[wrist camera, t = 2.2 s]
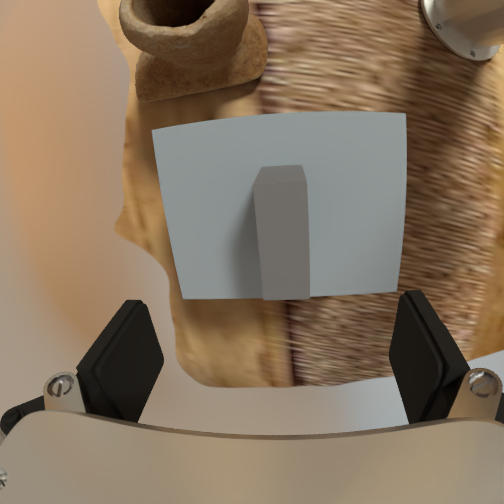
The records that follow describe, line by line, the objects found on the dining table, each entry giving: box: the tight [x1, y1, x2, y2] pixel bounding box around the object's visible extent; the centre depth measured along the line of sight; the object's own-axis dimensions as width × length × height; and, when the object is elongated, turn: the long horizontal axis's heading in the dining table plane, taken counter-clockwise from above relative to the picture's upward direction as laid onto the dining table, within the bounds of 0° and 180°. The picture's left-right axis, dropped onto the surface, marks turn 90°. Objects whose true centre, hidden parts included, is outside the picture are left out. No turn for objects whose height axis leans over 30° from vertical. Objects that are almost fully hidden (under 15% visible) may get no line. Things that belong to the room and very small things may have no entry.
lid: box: [152, 111, 407, 300], centre depth 20 cm, size 14×18×7 cm
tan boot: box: [119, 0, 268, 103], centre depth 23 cm, size 15×12×15 cm
